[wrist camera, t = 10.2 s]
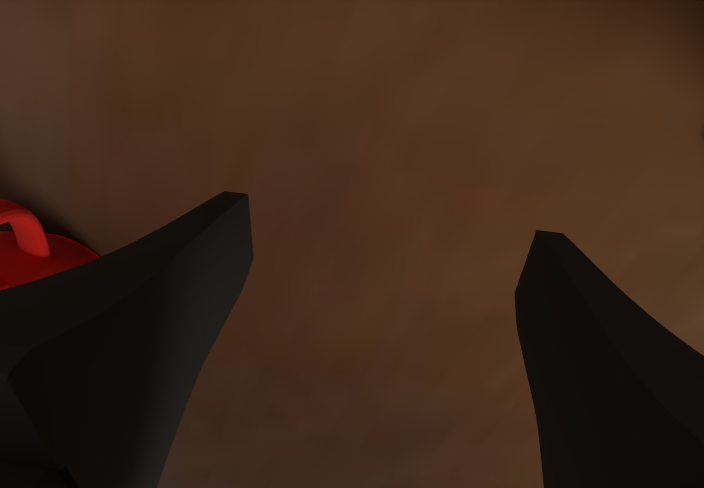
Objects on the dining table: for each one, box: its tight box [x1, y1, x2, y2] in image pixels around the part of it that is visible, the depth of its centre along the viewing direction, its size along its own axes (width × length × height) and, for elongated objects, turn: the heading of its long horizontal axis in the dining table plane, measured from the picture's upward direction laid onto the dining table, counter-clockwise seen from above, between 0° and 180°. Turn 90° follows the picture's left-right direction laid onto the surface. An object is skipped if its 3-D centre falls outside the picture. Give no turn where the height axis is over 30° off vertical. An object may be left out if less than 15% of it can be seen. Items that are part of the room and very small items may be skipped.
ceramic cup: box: [0, 199, 100, 290], centre depth 23 cm, size 13×17×10 cm
